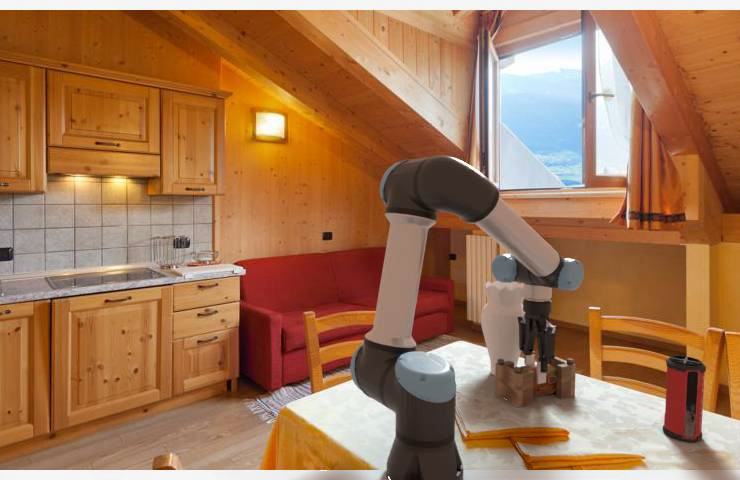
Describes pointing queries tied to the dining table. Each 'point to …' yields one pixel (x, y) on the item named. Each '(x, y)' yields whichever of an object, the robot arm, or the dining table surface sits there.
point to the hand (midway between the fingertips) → (535, 379)
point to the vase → (502, 321)
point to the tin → (544, 387)
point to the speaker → (684, 398)
